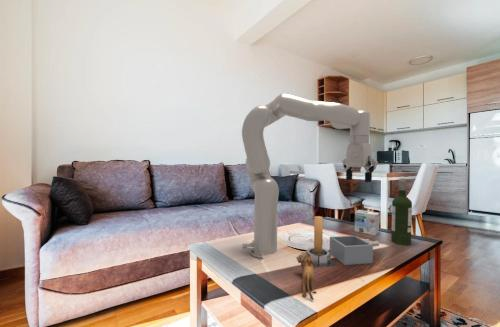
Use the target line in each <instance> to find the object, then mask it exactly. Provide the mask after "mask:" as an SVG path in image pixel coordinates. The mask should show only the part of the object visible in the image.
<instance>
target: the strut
mask: <svg viewBox="0 0 500 327" xmlns="http://www.w3.org/2000/svg"><path fill="white" fill-rule="evenodd" d="M323 220H324V217H323V216H320V215H317V216H314V220H313V221H314V222H313V223H314V224H313V232H314V233H313V236H314V237H313V248H314V250H312V251H311V254H315V255H325V252H324V251H322V249H323V240H324V239H323V238H324V237H323V234H324V232H323V230H324V226H323V225H324V224H323V223H324V221H323Z"/></svg>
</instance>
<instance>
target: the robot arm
mask: <svg viewBox="0 0 500 327" xmlns="http://www.w3.org/2000/svg"><path fill="white" fill-rule="evenodd" d="M286 116H288V117H291V118H296V119H298V120H304V121H306V122H321V121H325V122H330V124H331V126H332V127H333V128H334V129H338V130H344V129H350V130H349V138H348V142H349V143H348V145H347V147H346V148H347V149H346V153H345V159H342V160H341V163H342V165H343V169H344V170H345V173H346V174H345V179H346V181H352V180H353V169H354V168H364V170H365V173H364V182H365V183H372V179H373V172H374V170H376V169H377V166H378V164H379V161H377V160H376V159H374V158H373V153H372V146H371V143H370V126H371V125H370V124H371V114H370V112H369V111H368V110H358V109H356V108H355V107H353V106H350V105H346V104H344V103H339V102H332V101H322V100H313V99H310V98H305V97H302V96H298V95H294V94H290V93H280V94H278V95H277V96H276V97H275V98H274V99H273V100H272V101H270V102H269V103H267V104H266V105H258V106H257V105H256V106H255V107H253V108H252V109H251V110H250V111H249V112H248V113H247V115H246V116H245V119H244V121H243V124H242V128H241V138H242V143H243V147H244V152H245V155H246V159H245V167H246V171H247V174H248V178H249V182H250V186H251V188H252V191H253V193H254V204H253V205H254V206H253V208H254V209H253V217H254V218H253V219H254V220H253V240H252V241H251V242H249V243H242V249H246V251H249V252H250V255H251V256H253V257H254V258H257V259H262V260H263V259H264V258H263V256H262V255H272V254H275V253H277V251H278V206H279V205H278V204H279V203H278V202H279V196H280V195H279V193H280V188H279V185H278V183H277V181H276V180H275V179H274V178H273V177H271V173H270V170H269V169H270V166H271V160H270V156H269V154H268V150H267V147H266V143H265V138H264V130H265V128H267V127H269V126H270V125H272V124H273V123H275V122H277V121H279V120H281V119H283V118H284V117H286Z"/></svg>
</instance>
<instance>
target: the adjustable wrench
mask: <svg viewBox="0 0 500 327" xmlns="http://www.w3.org/2000/svg"><path fill="white" fill-rule="evenodd" d="M363 240H364V241H366V242H368V243H370V244H372V245H373V247H379V246H380V242H379V240H375V241H370V238H367V239H365V238H364V239H363Z"/></svg>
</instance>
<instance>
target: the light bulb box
mask: <svg viewBox="0 0 500 327" xmlns="http://www.w3.org/2000/svg"><path fill="white" fill-rule="evenodd" d="M379 225H380V212H376V211H370V210H363V209H358V210H356V211H355V212H354V232H357V233H362V234H366V235H372V236H377V235H378V234H379V227H380V226H379Z"/></svg>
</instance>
